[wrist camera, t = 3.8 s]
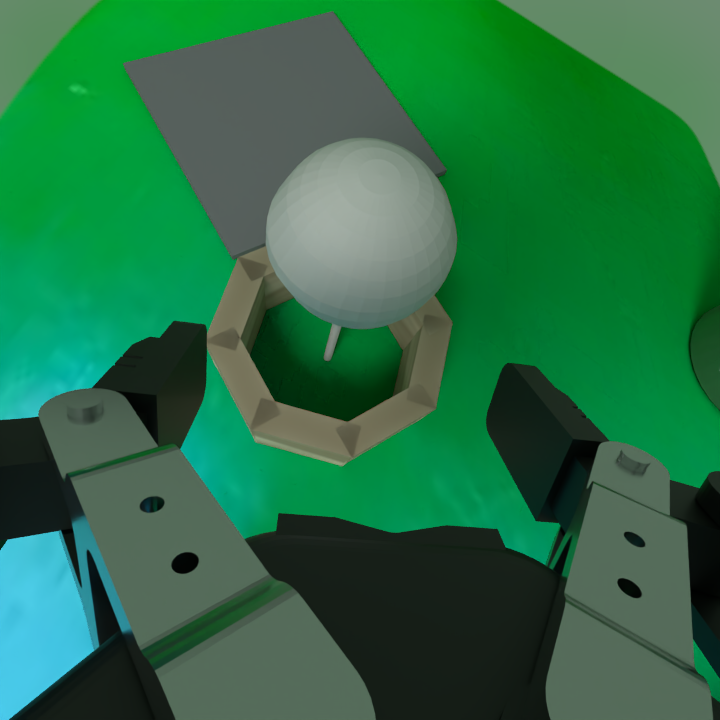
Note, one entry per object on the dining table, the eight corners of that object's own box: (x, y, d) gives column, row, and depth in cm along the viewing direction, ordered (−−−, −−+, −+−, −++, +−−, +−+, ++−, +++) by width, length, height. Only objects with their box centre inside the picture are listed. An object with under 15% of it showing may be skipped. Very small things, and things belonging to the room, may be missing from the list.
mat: (332, 16, 35) (333, 11, 34) (444, 173, 32) (446, 169, 31) (124, 68, 30) (122, 63, 30) (232, 259, 27) (232, 256, 26)
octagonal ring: (361, 242, 29) (373, 202, 25) (460, 396, 26) (489, 377, 23) (189, 316, 25) (173, 282, 22) (285, 499, 23) (286, 497, 19)
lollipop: (360, 299, 27) (440, 77, 13) (394, 388, 26) (526, 244, 12) (260, 325, 26) (233, 105, 12) (291, 422, 24) (302, 301, 10)
